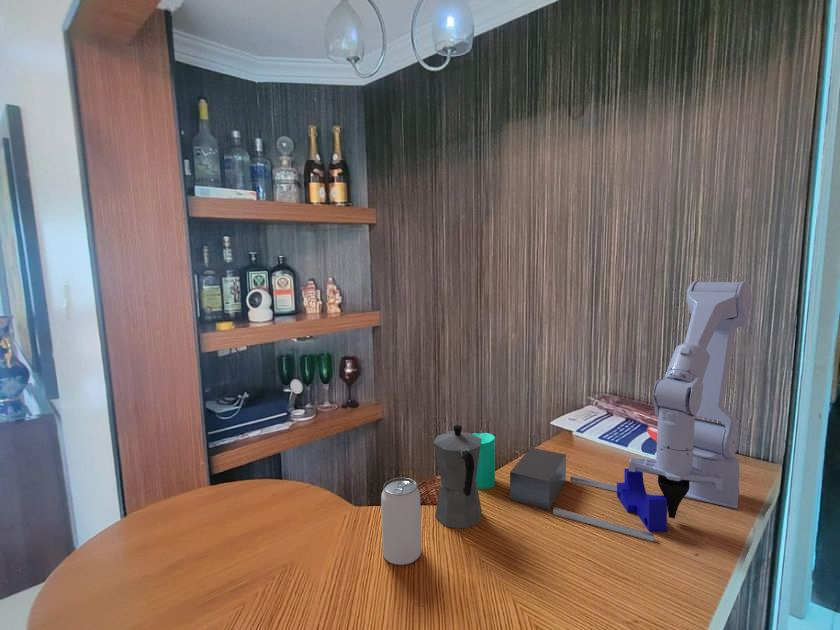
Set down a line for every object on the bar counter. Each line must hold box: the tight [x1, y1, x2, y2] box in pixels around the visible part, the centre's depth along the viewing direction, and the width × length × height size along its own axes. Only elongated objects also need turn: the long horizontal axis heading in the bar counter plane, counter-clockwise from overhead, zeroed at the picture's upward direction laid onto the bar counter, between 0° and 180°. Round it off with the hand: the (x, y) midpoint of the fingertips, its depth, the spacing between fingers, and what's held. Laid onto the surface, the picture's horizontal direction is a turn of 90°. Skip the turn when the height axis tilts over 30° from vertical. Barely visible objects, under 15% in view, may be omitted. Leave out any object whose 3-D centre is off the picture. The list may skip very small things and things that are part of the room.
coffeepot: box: [433, 424, 483, 530], centre depth 81 cm, size 15×9×18 cm, turn 10°
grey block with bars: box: [509, 447, 658, 543], centre depth 87 cm, size 28×16×6 cm, turn 59°
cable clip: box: [616, 468, 668, 533], centre depth 82 cm, size 12×4×6 cm, turn 174°
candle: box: [472, 430, 496, 490], centre depth 95 cm, size 6×6×12 cm
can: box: [380, 477, 422, 566], centre depth 71 cm, size 6×6×12 cm
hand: (671, 515), depth 79 cm, fingers closed
